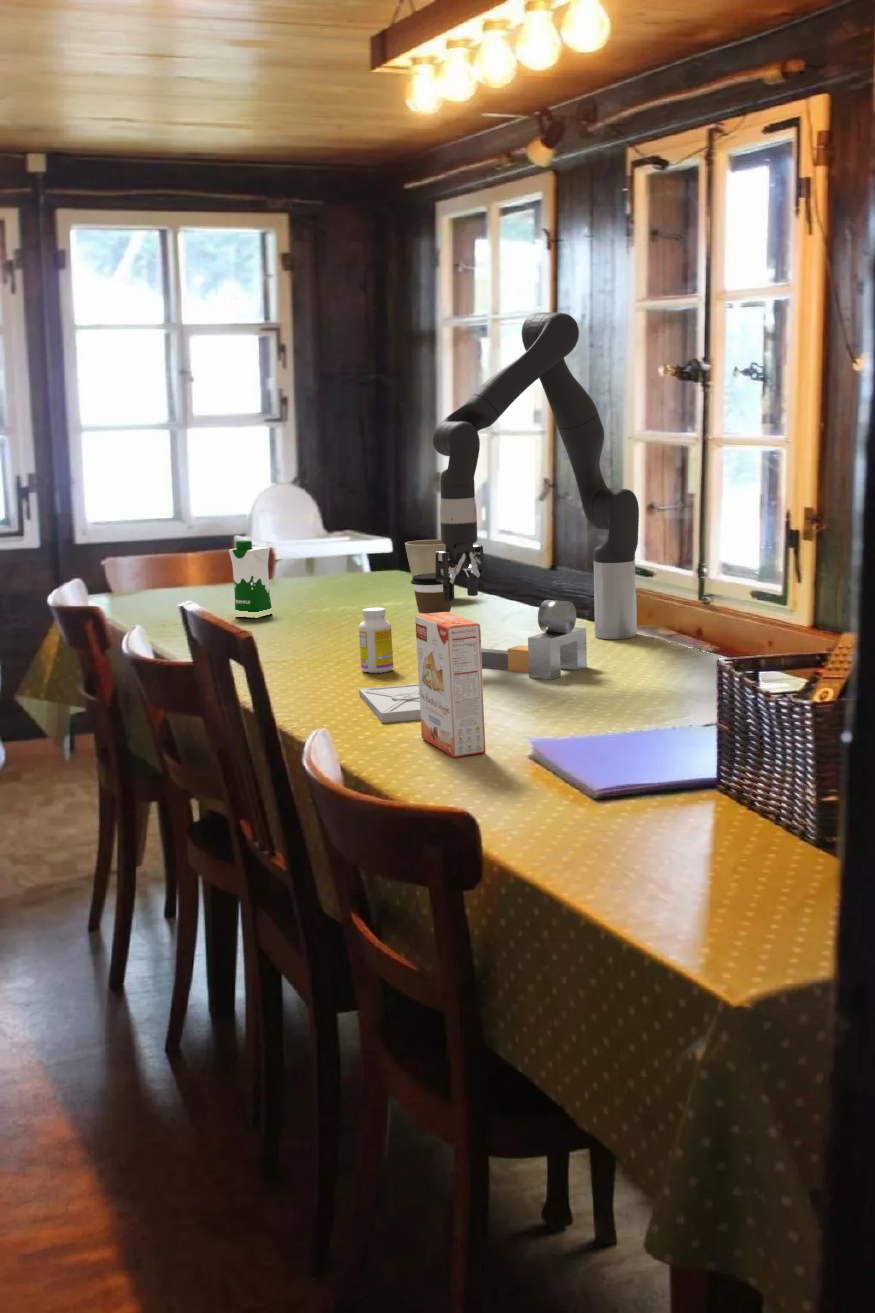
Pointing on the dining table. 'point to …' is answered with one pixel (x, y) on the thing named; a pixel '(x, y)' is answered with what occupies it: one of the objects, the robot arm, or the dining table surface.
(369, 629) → the supplement bottle
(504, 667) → the plug
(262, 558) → the milk carton
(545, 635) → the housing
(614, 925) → the dining table surface
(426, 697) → the cracker box
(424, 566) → the plant pot
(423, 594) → the coffee cup
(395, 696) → the envelope
